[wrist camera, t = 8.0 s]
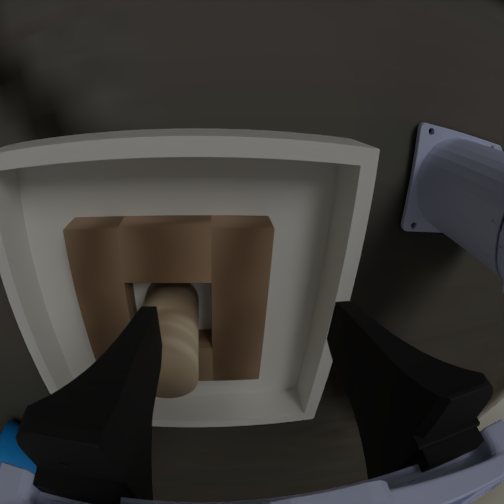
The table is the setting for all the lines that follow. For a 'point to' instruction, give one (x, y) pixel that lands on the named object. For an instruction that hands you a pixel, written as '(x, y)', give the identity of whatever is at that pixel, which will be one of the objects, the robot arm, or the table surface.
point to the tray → (193, 203)
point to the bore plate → (177, 279)
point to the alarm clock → (13, 448)
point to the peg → (176, 336)
